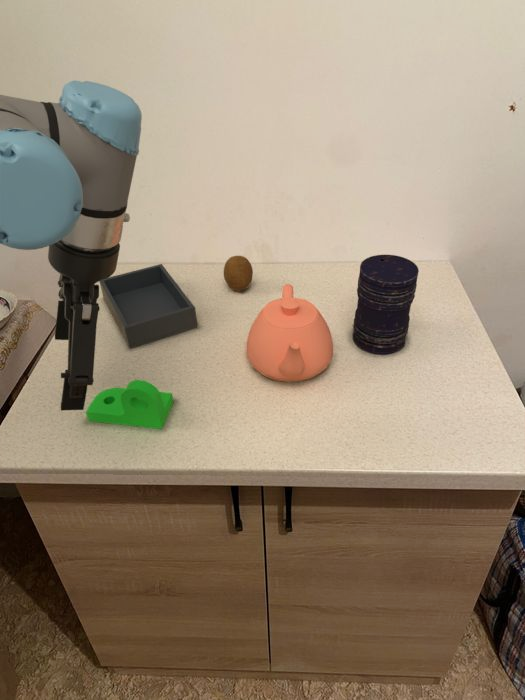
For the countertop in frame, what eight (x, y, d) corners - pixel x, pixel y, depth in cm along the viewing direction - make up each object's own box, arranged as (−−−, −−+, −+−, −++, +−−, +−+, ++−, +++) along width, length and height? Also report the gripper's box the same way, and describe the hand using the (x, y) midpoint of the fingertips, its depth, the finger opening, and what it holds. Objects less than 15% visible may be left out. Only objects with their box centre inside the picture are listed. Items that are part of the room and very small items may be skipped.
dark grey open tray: (129, 348, 93) (124, 327, 90) (104, 299, 107) (98, 279, 104) (197, 327, 98) (195, 307, 95) (164, 282, 112) (161, 263, 109)
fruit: (221, 295, 107) (218, 262, 102) (229, 280, 112) (226, 248, 107) (249, 298, 106) (248, 264, 101) (256, 283, 111) (255, 250, 106)
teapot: (340, 406, 80) (346, 345, 73) (246, 408, 80) (242, 348, 73) (325, 325, 97) (329, 269, 90) (247, 328, 98) (244, 272, 90)
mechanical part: (173, 402, 82) (166, 364, 77) (161, 429, 77) (153, 390, 72) (104, 394, 84) (93, 357, 79) (88, 420, 79) (75, 383, 74)
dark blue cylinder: (415, 350, 91) (430, 278, 81) (364, 359, 89) (373, 287, 80) (391, 320, 98) (403, 251, 89) (344, 327, 97) (350, 258, 88)
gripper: (138, 306, 50) (107, 441, 62) (106, 190, 66) (87, 315, 79) (57, 301, 46) (42, 445, 59) (45, 179, 63) (35, 312, 75)
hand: (68, 371), depth 69 cm, fingers open, 13 cm apart
